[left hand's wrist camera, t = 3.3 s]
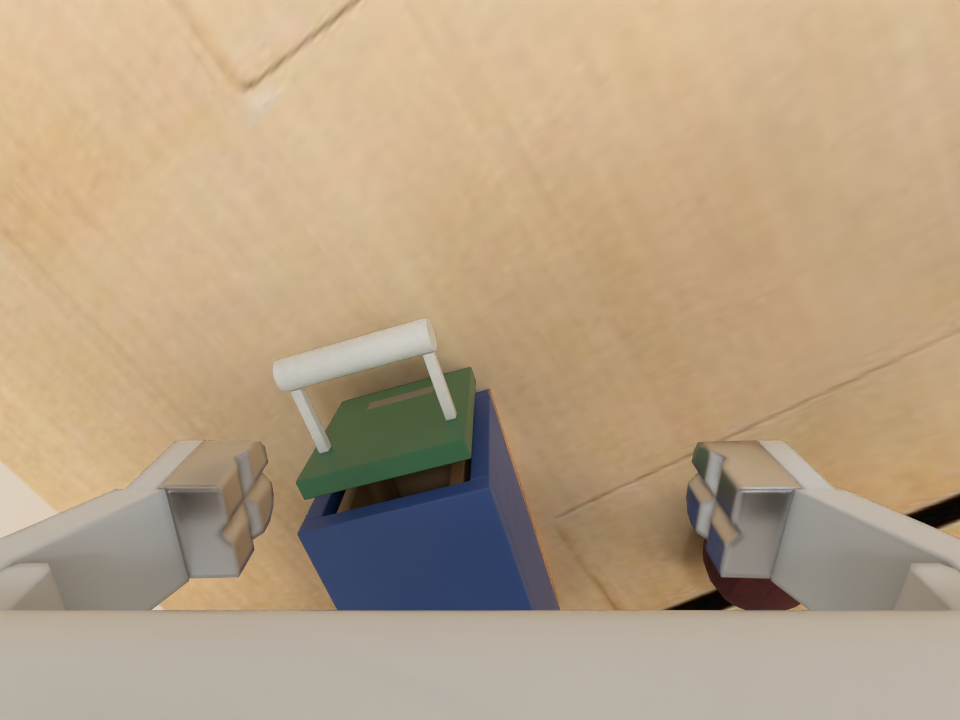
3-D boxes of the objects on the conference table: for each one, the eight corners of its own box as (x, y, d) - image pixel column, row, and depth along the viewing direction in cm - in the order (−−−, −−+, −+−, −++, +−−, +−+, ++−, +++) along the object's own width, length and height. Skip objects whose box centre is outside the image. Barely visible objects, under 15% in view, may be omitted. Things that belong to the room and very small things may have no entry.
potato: (669, 538, 41) (703, 611, 35) (735, 465, 39) (785, 530, 32) (743, 576, 43) (788, 654, 36) (811, 508, 40) (874, 578, 34)
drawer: (307, 323, 34) (245, 385, 26) (443, 284, 33) (427, 334, 24) (430, 602, 43) (414, 718, 34) (541, 578, 42) (554, 692, 33)
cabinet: (350, 425, 38) (296, 534, 28) (490, 388, 37) (489, 487, 26) (438, 626, 46) (422, 774, 35) (558, 601, 44) (580, 746, 34)
